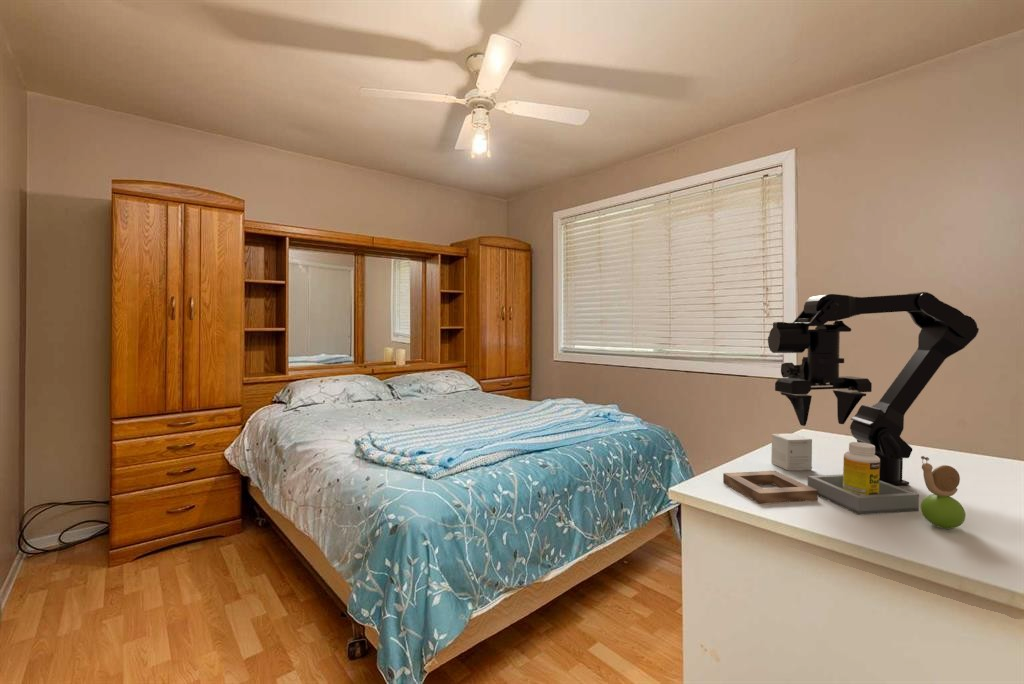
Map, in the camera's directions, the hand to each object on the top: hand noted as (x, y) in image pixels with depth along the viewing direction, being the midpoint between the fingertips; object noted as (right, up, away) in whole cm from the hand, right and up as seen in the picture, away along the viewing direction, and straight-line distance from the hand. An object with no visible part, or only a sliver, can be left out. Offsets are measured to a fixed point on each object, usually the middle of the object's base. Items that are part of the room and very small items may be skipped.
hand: (822, 424), depth 100 cm
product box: (-1, -12, +10) cm, 15 cm away
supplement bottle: (0, -12, -11) cm, 17 cm away
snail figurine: (+4, -13, -23) cm, 27 cm away
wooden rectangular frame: (-15, -12, -6) cm, 21 cm away
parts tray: (-1, -12, -11) cm, 17 cm away
